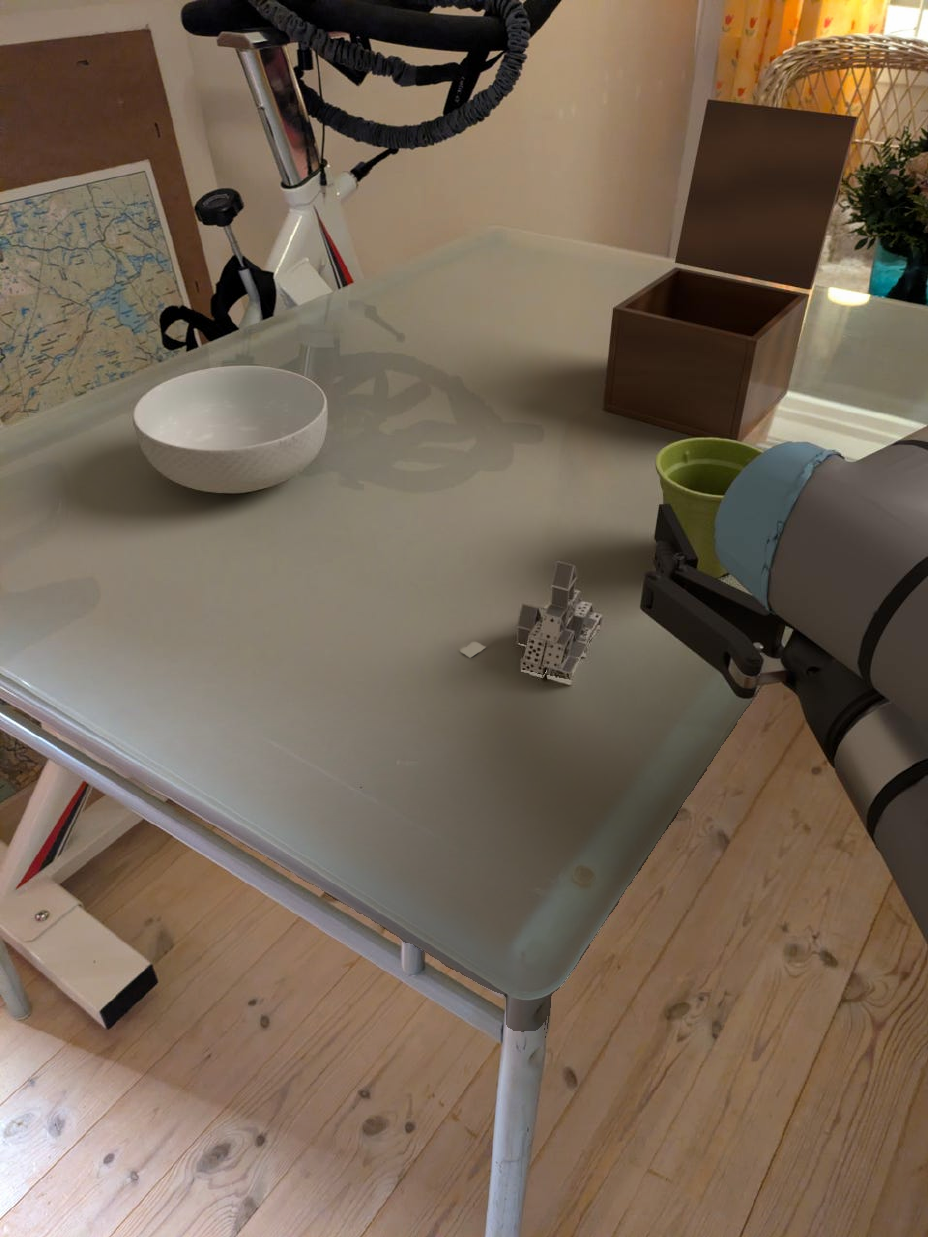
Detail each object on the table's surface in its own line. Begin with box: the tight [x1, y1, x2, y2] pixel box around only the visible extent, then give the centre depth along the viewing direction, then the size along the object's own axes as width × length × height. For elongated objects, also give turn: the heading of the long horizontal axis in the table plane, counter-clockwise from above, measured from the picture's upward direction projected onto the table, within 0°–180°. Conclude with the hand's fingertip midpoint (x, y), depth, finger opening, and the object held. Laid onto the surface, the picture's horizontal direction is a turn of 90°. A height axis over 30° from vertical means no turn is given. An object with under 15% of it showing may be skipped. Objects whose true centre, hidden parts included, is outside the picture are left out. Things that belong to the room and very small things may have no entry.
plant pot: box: [654, 437, 764, 579], centre depth 75 cm, size 9×9×9 cm
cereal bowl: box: [132, 365, 329, 494], centre depth 87 cm, size 17×17×7 cm
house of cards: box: [515, 560, 603, 681], centre depth 68 cm, size 9×9×8 cm
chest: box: [602, 266, 810, 442], centre depth 97 cm, size 15×15×11 cm
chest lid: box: [674, 98, 860, 291], centre depth 95 cm, size 15×15×1 cm
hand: (758, 515), depth 65 cm, fingers open, 13 cm apart
